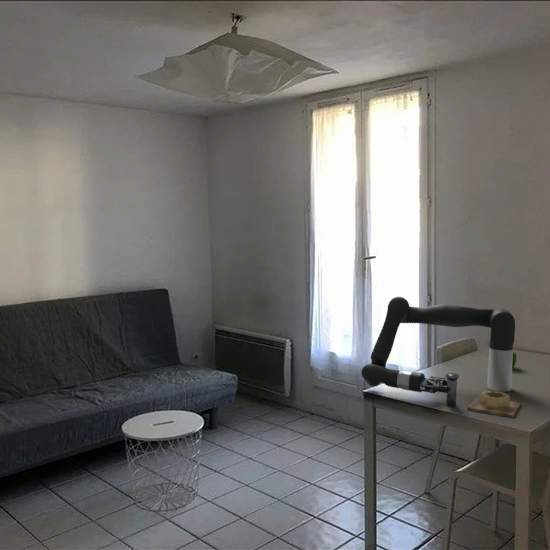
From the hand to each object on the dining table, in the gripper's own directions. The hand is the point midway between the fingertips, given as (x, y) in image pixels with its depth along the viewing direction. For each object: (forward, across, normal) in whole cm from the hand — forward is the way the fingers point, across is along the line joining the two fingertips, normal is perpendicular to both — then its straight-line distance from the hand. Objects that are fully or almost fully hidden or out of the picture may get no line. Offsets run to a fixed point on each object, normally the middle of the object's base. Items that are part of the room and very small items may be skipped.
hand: (452, 387), depth 226 cm
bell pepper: (+7, +68, +7) cm, 68 cm away
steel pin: (0, 0, +7) cm, 7 cm away
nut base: (+15, +6, +7) cm, 17 cm away
